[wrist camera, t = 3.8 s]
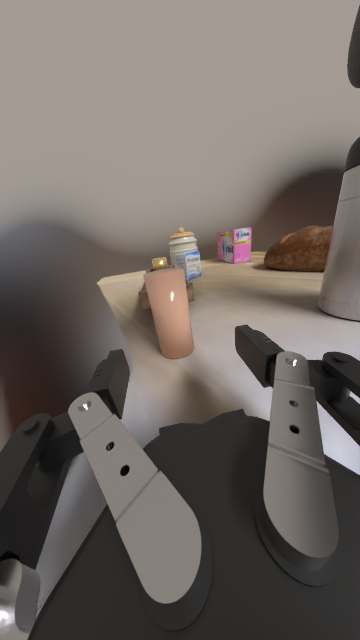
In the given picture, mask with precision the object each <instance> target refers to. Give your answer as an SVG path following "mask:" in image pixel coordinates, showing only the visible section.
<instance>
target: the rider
mask: <svg viewBox="0 0 360 640" xmlns="http://www.w3.org/2000/svg"><path fill="white" fill-rule="evenodd" d="M143 276H144V280H145V285H146V289H147V293H148V298H149V302H150V306H151V311H152V315H153V319H154V323H155V328H156V332H157V336H158V341H159V345H160V349H161V353H162V355H163V356H164V357H166V358H169V359H180V358H183V357H186V356H188V355H189V354H191V353H192V352H193V350H194V342H193V335H192V327H191V320H190V312H189V305H188V297H187V290H186V282H185V275H184V269H183V268H168V269H162V270H157V271H153V272H149V273H146V274H144V275H143Z"/></svg>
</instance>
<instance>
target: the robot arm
mask: <svg viewBox="0 0 360 640" xmlns="http://www.w3.org/2000/svg"><path fill="white" fill-rule="evenodd" d="M347 68H348V77H349V80H350V83H351V84H352V85H353V86H354V87H355V88H360V6H359V10H358V13H357V17H356V20H355V24H354V28H353V32H352V38H351V42H350V47H349V53H348V65H347ZM318 307H319V309H321V310H322V311H324V312H326V313H328V314H331V315H334V316H337V317H341V318H346V319H351V320H359V321H360V137H359V138H358V139H357V140H356V141H355V142H354V144H353V145H352V146H351V148H350V150H349V153H348V157H347V161H346V166H345V173H344V177H343V182H342V187H341V192H340V197H339V203H338V207H337V212H336V217H335V222H334V227H333V231H332V236H331V241H330V246H329V251H328V256H327V261H326V266H325V271H324V276H323V281H322V286H321V290H320V295H319V300H318ZM235 347H236V351H237V353H238V354H239V356H240V357H241V358H242V360H243V361H244V362H245V364H246V365H247V366H248V368H249V369H250V370H251V372H252V373H253V374H254V375H255V377H256V378H257V379H258V381H259V382H260V383H261V385H262V386H263V387H264V388H265V387H269V386H271V387H272V388H273V394H272V404H271V413H270V422H269V421H267V420H264V419H261V418H258V417H253V416H246V414H245V412H244V410H243V409H240V410H236V411H232V412H227V413H223V414H221V415H219V416H217V417H215V418H213V419H211V420H210V421H208V422H206V423H203V424H188V423H179V424H175V425H171V426H166V427H162V428H159V433H160V436H158V437H156V438H155V439H153V440H152V441H151V442H150V443H148V444H147V445H146V446H145V447H144V448H143V449H142V448H141V447H140V446H139V444H138V443H137V442H136V440H135V439H134V438H133V437H132V435H131V434H130V433H129V431H128V430H127V429H126V427H125V426H124V425H123V424H122V422H121V421H120V420H119V419H122V414H123V408H124V403H125V397H126V392H127V387H128V381H129V375H130V372H129V367H128V364H127V361H126V358H125V355H124V352H123V350H122V349H119V350H114V351H110V353H109V355H108V358H107V359H106V360H103V361H102V362H101V363H100V364H99V365H98V366H97V369H96V371H95V373H94V375H93V378H92V380H91V382H90V384H89V386H88V388H87V390H86V392H85V394H84V395H82V396H80V397H79V398H77V399H76V400H75V401H74V402H73V403H72V404H71V405H70V407H69V410H68V411H67V412H64V413H62V414H60V415H58V416H56V417H54V418H50V416H49V415H48V414H46V413H40V414H37V415H34V416H33V417H31V418H29V419H27V420H26V421H25V422H23V423H22V424H21V425H20V426H19V427H18V428H17V429H16V431H15V432H14V433H13V435H12V436H11V437H10V439H9V440H8V442H7V443H6V445H5V446H4V448H3V449H2V451H1V452H0V640H360V475H358V474H356V473H355V472H353V471H351V470H350V469H348V468H346V467H345V466H343V465H341V464H340V463H338V462H336V461H335V460H333V459H331V458H330V457H328V456H326V455H325V454H324V452H323V445H322V438H321V431H320V424H319V417H318V410H317V403H316V401H317V402H318V403H319V404H320V405H321V406H322V407H323V408H324V409H325V410H326V411H327V412H328V413H329V414H330V415H331V416H332V417H333V418H334V419H335V420H336V422H337V423H338V424H339V425H340V426H341V427H342V428H343V429H344V430H345V431H346V432H347V433H348V434H349V435H350V436H351V437H352V438H353V439H354V440H355V442H356V443H357V444H358V445H359V446H360V404H359V403H358V402H356V401H355V400H354V399H353V398H352V397H350V396H349V394H350V392H353V393H354V394H355V395H356V396H358V397H359V398H360V361H359V360H357V359H355V358H354V357H352V356H350V355H347V354H344V353H340V352H327V353H325V354H324V355H323V359H322V360H306V358H305V357H303V356H302V355H300V354H298V353H295V352H288V351H286V352H285V351H284V350H283V349H282V348H281V347H279V346H278V345H277V344H276V343H275V342H273V341H272V340H271V339H270V338H268V337H267V336H266V335H265V334H264V333H262V332H260V331H257V330H253V329H252V328H250V327H249V326H248V325H242V326H237V327H236V328H235ZM82 452H85V454H86V457H87V459H88V461H89V463H90V466H91V468H92V470H93V472H94V475H95V477H96V479H97V481H98V483H99V486H100V488H101V490H102V492H103V495H104V497H105V499H106V501H107V505H106V507H105V508H104V510H103V511H102V513H101V515H100V516H99V518H98V519H97V521H96V523H95V524H94V526H93V527H92V529H91V530H90V532H89V534H88V535H87V537H86V538H85V540H84V542H83V543H82V545H81V546H80V548H79V550H78V551H77V553H76V554H75V556H74V557H73V559H72V561H71V562H70V564H69V565H68V567H67V569H66V570H65V572H64V573H63V575H62V577H61V578H60V580H59V581H58V583H57V584H56V586H55V588H54V589H53V591H52V592H51V594H50V596H49V597H48V599H47V601H46V602H45V604H44V606H43V608H42V609H41V611H40V613H39V615H38V617H37V619H36V612H37V603H38V598H39V593H40V577H39V574H38V573H37V572H36V571H35V569H36V566H37V563H38V560H39V557H40V554H41V551H42V548H43V545H44V542H45V539H46V536H47V533H48V530H49V526H50V523H51V520H52V517H53V514H54V511H55V508H56V505H57V502H58V499H59V496H60V493H61V490H62V487H63V484H64V481H65V478H66V475H67V472H68V469H69V466H70V463H71V460H72V458H73V457H75V456H77V455H79V454H80V453H82ZM35 466H36V467H35ZM34 468H35V469H34ZM33 470H34V472H33ZM32 472H33V474H32ZM31 474H32V476H31ZM30 476H31V478H30ZM29 478H30V480H29ZM28 481H29V482H28Z"/></svg>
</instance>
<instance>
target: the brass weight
mask: <svg viewBox="0 0 360 640" xmlns="http://www.w3.org/2000/svg"><path fill="white" fill-rule="evenodd" d="M152 263H153V268H154V271H157V270H162V269H168V266H167V261H166V257H162V258H156V259H152Z"/></svg>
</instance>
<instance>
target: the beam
mask: <svg viewBox="0 0 360 640" xmlns="http://www.w3.org/2000/svg"><path fill="white" fill-rule="evenodd" d="M168 268H175V265H172V266H168ZM153 271H154V268H153V269H147V270H146V273H149V272H153ZM185 282H186V281H185ZM186 290H187V297H188V302H190V301H194V295H193V286H192V283H187V282H186ZM139 297H140V301H141V305H142V309H143V310H146V309H151V306H150V302H149V298H148V293H147V289H146V285H145V282H144V285H143V289H142V291H139Z"/></svg>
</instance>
